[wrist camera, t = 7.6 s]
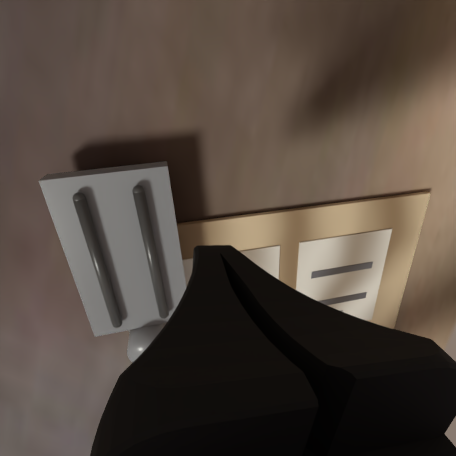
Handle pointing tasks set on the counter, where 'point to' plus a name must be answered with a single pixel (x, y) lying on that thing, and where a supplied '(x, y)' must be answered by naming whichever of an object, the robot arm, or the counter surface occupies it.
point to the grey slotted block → (120, 246)
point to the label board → (327, 250)
